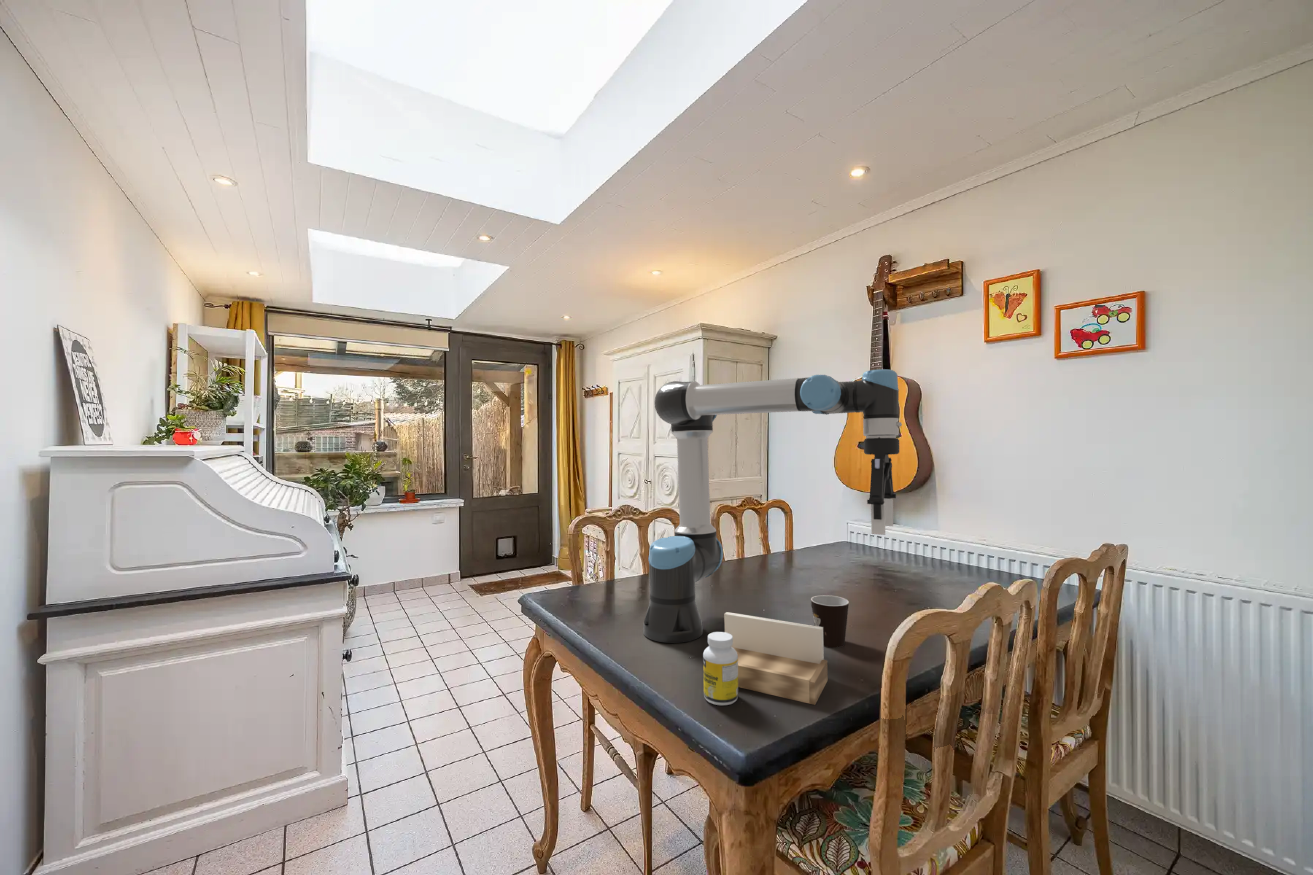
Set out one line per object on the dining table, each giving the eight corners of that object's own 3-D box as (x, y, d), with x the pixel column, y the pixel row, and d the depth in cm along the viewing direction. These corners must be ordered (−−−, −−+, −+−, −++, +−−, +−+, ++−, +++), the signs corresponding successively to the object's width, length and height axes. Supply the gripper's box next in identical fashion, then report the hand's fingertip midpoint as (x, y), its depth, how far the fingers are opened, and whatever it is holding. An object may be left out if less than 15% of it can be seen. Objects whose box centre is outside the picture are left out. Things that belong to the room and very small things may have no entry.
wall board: (725, 659, 114) (724, 613, 114) (727, 656, 115) (726, 611, 115) (822, 679, 103) (821, 629, 104) (824, 676, 105) (823, 627, 105)
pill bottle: (701, 691, 99) (700, 630, 99) (733, 689, 100) (732, 629, 100) (707, 708, 93) (706, 643, 93) (742, 705, 93) (741, 641, 94)
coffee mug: (852, 650, 118) (851, 606, 118) (813, 648, 119) (812, 604, 120) (844, 632, 129) (843, 592, 129) (808, 630, 131) (808, 591, 131)
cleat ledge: (704, 679, 104) (704, 658, 104) (725, 659, 114) (724, 640, 114) (815, 704, 93) (814, 681, 93) (827, 680, 103) (827, 659, 103)
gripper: (892, 436, 106) (894, 539, 105) (904, 437, 127) (906, 523, 127) (853, 437, 110) (855, 536, 109) (872, 438, 131) (873, 521, 131)
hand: (882, 529), depth 118 cm, fingers open, 13 cm apart
